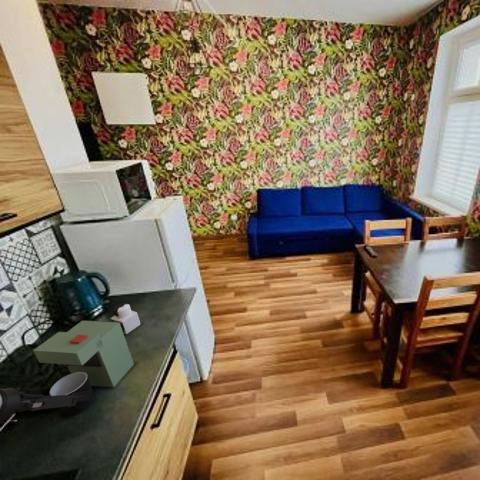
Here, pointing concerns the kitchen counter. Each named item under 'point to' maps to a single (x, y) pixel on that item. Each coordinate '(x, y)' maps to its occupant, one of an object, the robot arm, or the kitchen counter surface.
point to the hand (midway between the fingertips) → (68, 393)
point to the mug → (73, 391)
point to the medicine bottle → (125, 317)
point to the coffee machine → (90, 351)
